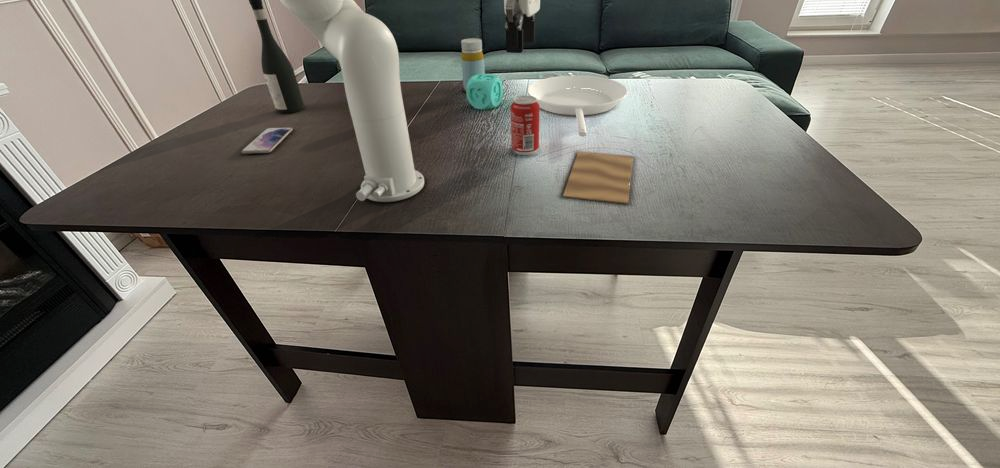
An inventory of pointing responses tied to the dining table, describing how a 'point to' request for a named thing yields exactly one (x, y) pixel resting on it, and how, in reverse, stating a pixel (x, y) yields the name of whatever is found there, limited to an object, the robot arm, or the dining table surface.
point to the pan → (577, 96)
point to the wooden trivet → (600, 177)
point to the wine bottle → (277, 67)
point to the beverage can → (525, 125)
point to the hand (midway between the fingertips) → (520, 46)
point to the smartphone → (267, 140)
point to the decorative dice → (484, 91)
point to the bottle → (471, 59)
